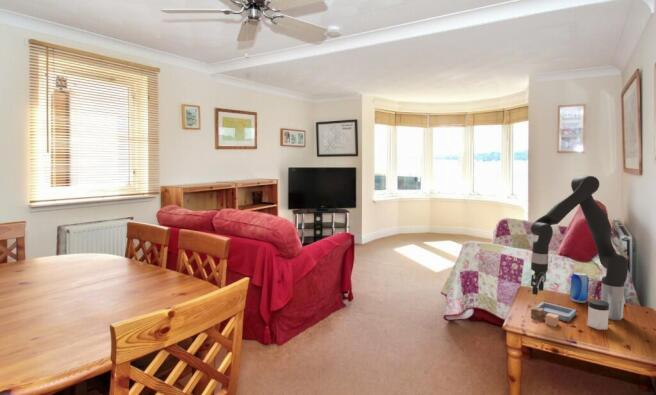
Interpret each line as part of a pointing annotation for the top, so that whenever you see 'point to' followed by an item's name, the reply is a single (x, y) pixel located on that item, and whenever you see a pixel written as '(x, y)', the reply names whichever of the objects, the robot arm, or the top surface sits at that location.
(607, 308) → the jar
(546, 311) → the tray
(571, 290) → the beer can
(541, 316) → the block walnut
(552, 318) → the block terracotta
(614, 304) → the robot arm
